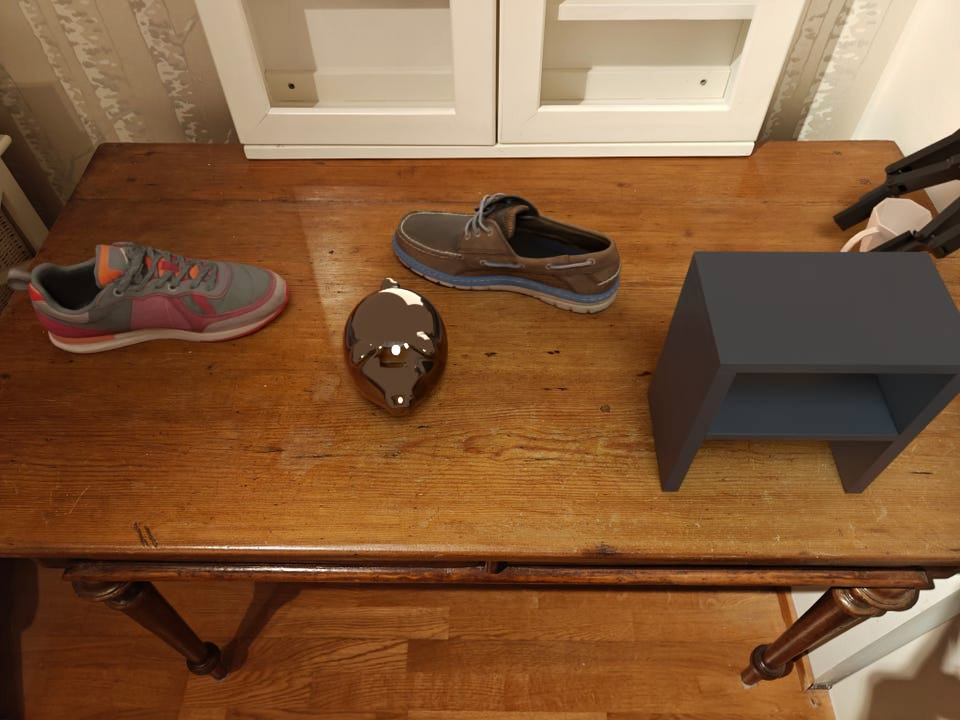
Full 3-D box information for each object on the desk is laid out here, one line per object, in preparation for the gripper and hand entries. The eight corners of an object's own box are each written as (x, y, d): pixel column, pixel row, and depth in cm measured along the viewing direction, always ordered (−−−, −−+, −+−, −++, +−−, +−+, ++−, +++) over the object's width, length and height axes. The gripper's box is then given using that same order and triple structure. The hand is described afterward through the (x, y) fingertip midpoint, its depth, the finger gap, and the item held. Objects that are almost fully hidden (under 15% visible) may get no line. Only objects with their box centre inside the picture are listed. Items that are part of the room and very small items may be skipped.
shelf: (827, 394, 77) (928, 251, 60) (861, 493, 70) (986, 365, 53) (646, 393, 78) (693, 251, 60) (662, 491, 71) (720, 363, 53)
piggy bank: (353, 444, 74) (333, 382, 65) (350, 334, 83) (333, 267, 74) (457, 432, 75) (453, 370, 66) (444, 325, 84) (438, 257, 75)
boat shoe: (409, 221, 95) (402, 156, 86) (624, 261, 90) (638, 197, 81) (382, 276, 89) (371, 212, 80) (610, 322, 84) (624, 260, 75)
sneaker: (296, 331, 83) (271, 260, 74) (48, 372, 80) (-12, 303, 71) (292, 271, 89) (268, 197, 80) (61, 306, 86) (7, 235, 76)
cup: (914, 276, 88) (949, 231, 81) (844, 295, 86) (874, 250, 80) (881, 237, 92) (912, 191, 85) (813, 254, 90) (839, 208, 83)
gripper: (1127, 211, 69) (888, 320, 82) (1030, 96, 81) (834, 207, 94) (1112, 169, 65) (863, 290, 78) (1012, 54, 77) (810, 176, 90)
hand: (847, 244), depth 86 cm, fingers closed on cup, 7 cm apart
